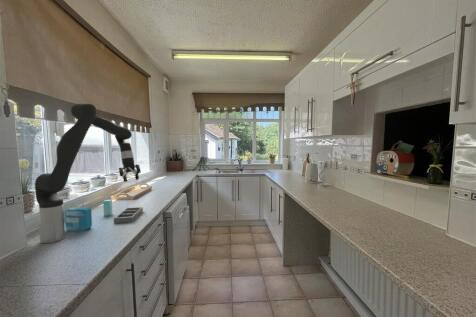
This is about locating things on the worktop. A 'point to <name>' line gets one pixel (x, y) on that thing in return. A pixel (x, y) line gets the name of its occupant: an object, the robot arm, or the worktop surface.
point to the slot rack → (128, 215)
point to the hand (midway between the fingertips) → (131, 180)
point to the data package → (78, 219)
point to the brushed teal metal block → (107, 207)
